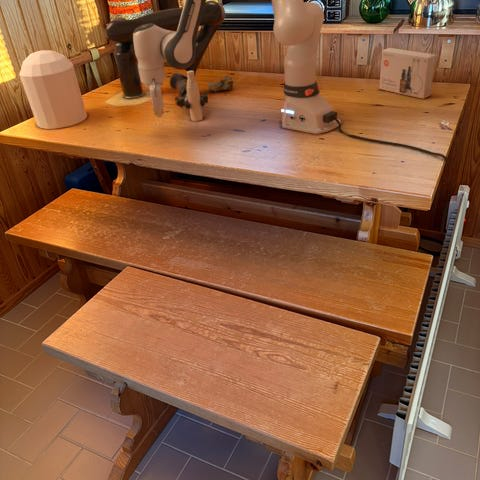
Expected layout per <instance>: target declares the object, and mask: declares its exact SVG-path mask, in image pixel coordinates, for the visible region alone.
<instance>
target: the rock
mask: <svg viewBox="0 0 480 480" xmlns="http://www.w3.org/2000/svg"><path fill="white" fill-rule="evenodd" d="M207 86H208V90H210V92H213V93H218V92H224V91H230V90H231V89H232V88H233V86H234V81H233V79H232V77H231V75H229V74H227V75H225V76H223V77H221V78H220V80H218V81H210V82H208V84H207Z"/></svg>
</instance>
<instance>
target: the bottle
mask: <svg viewBox="0 0 480 480" xmlns="http://www.w3.org/2000/svg"><path fill="white" fill-rule="evenodd" d="M186 76H187V77H188V80H187V86H186V90H187V97H188V102H189V104H190V109H188V110H189V116H190V121H192V122H199V121H202V120H203V119H204V115H203V107H202V106H201V100H200V94H201V93H200V86H199V84H198V81H197V79H196V76H195V77H194V71H186Z"/></svg>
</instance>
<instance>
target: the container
mask: <svg viewBox="0 0 480 480" xmlns="http://www.w3.org/2000/svg"><path fill="white" fill-rule="evenodd" d="M75 70H76V69H75V67H74V63H73V62H72V61H71V60H69V58H68V57H67V56H66V55H65V54H62V53H61V52H58V51H55V50H50V49H49V50H46V49H45V50H43V49H41V50H38V51H34V52H32V53H30V54H29V55H28V56H26V58H25V59H24V60H23V61H22V63H21V67H20V70H19V78H20V81H21V84H22V87H23V89H24V92H25V95H26V98H27V100H28V104H29V106H30V109H31V112H32V115H33V118H34V120H35V123H36V126H37V127H39V128H41V129H46V130H51V129H53V130H54V129H63V128H67V127H70V126H74V125H77V124H79V123H81V122H83V121H84V120H86V118H87V117H88V112H87V110H86V106H85V103H84V100H83V96H82V93H81V88H80V84H79V81H78V78H77V74H76V71H75Z"/></svg>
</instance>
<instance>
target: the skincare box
mask: <svg viewBox="0 0 480 480" xmlns="http://www.w3.org/2000/svg"><path fill="white" fill-rule="evenodd" d="M436 57H437V54H435V53H427V52H423V51H422V52H420V51H413V50H407V49H400V48H395V47H394V48H393V47H387V48H385V49H382V50H381V61H380V74H379V86H378V87H379V88H378V89H379V90H383V91H387V92H391V93H395V94H399V95H405V96H409V97H414V98H418V99H422V100H424V99H426V98H428V97H430V96H431V91H432V86H433V85H432V84H433V78H434V73H435V72H434V71H435V70H434V69H435V64H436Z"/></svg>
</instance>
